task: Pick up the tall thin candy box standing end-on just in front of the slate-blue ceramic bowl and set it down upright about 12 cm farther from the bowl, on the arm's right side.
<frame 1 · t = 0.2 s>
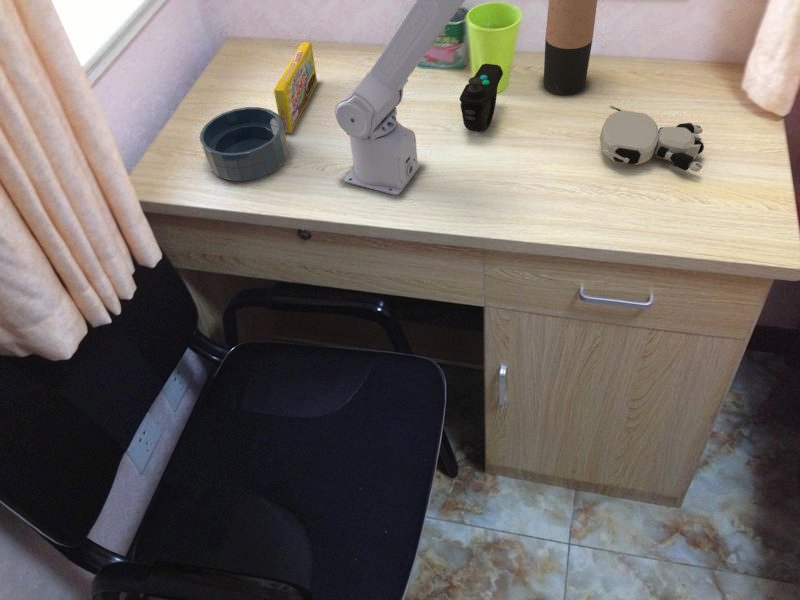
travel mug: (563, 85, 120), on the table
robot toy: (648, 155, 105), on the table
candy box: (301, 108, 122), on the table
bowl: (249, 158, 113), on the table
controller: (481, 124, 114), on the table
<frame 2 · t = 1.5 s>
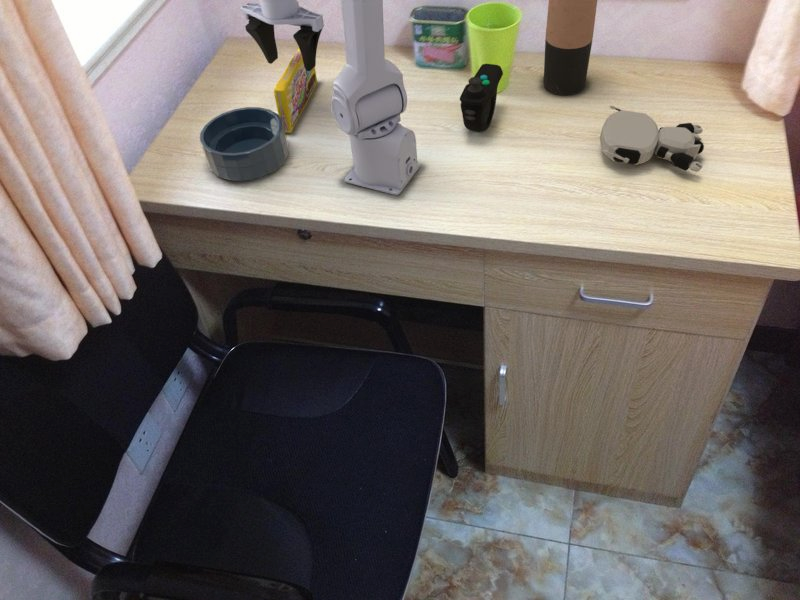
hand: (291, 64, 116), 8 cm above the table, tool pointing down, fingers open, 7 cm apart
nothing on the table moved.
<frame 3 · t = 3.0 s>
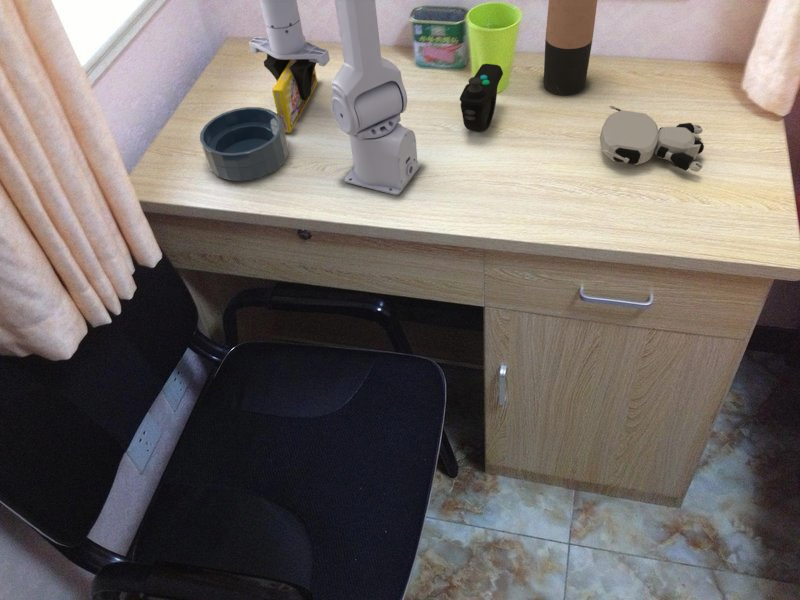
hand: (298, 95, 120), 2 cm above the table, tool pointing down, fingers closed on candy box, 3 cm apart
candy box: (301, 108, 122), on the table, touching gripper
everything else where it was.
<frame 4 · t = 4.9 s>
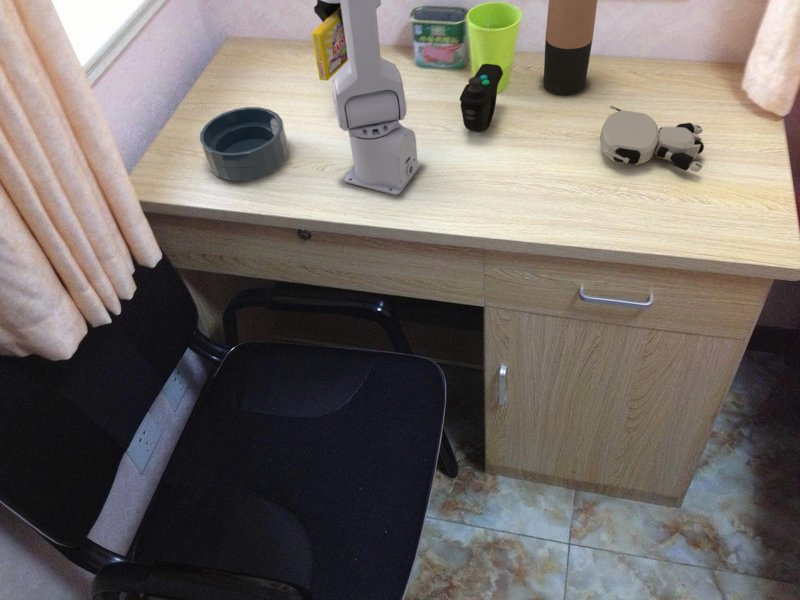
hand: (345, 44, 117), 9 cm above the table, tool pointing down, fingers closed on candy box
candy box: (348, 58, 119), point 7 cm above the table, touching gripper
everything else where it was.
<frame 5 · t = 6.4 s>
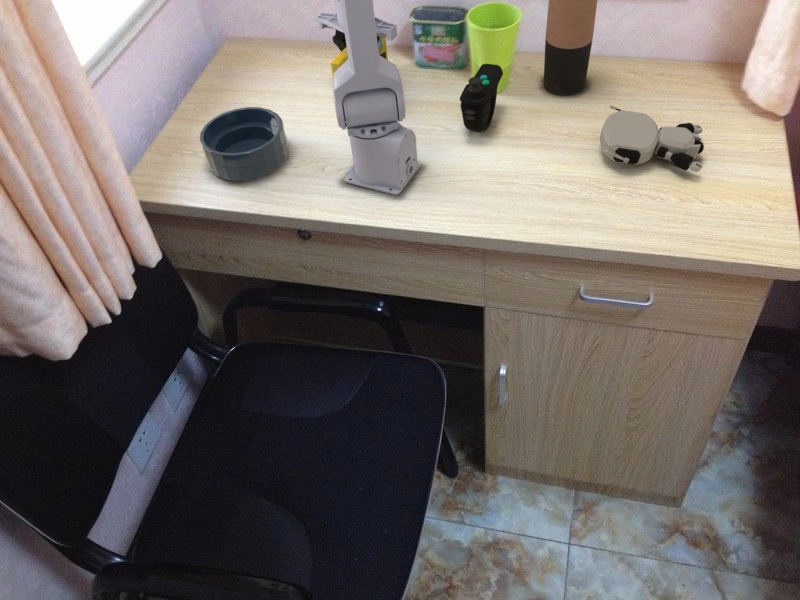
hand: (362, 71, 122), 4 cm above the table, tool pointing down, fingers closed on candy box, 2 cm apart
candy box: (364, 85, 124), point 1 cm above the table, touching gripper
everything else where it was.
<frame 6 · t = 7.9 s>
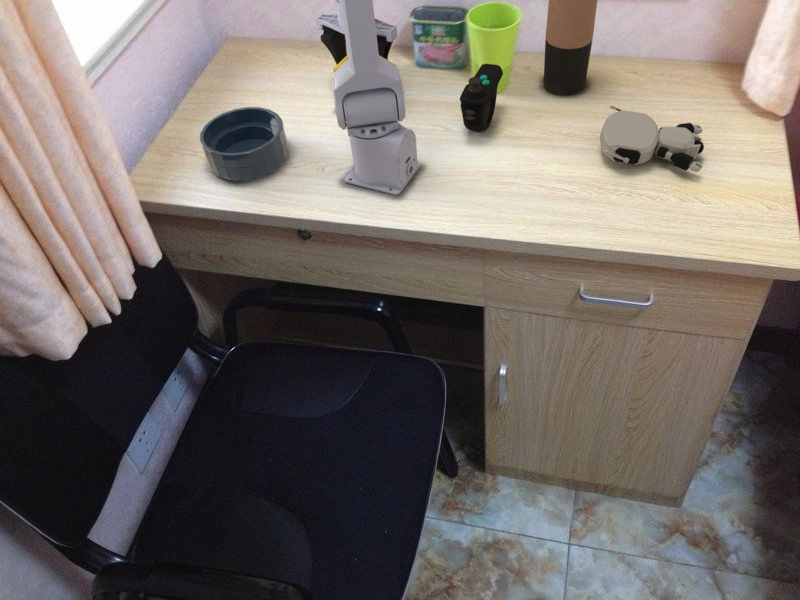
hand: (362, 72, 122), 3 cm above the table, tool pointing down, fingers open, 7 cm apart
candy box: (365, 90, 125), on the table
everything else where it was.
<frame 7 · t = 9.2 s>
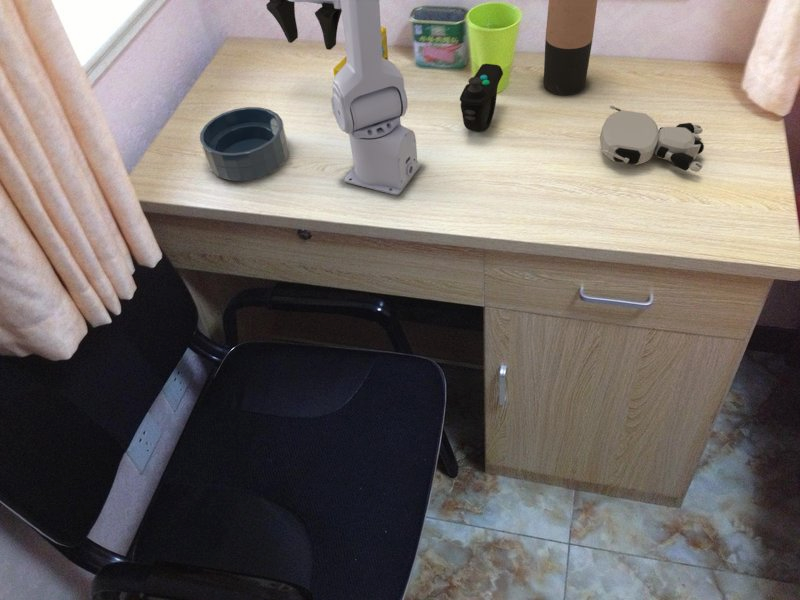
hand: (312, 43, 116), 10 cm above the table, tool pointing down, fingers open, 7 cm apart
nothing on the table moved.
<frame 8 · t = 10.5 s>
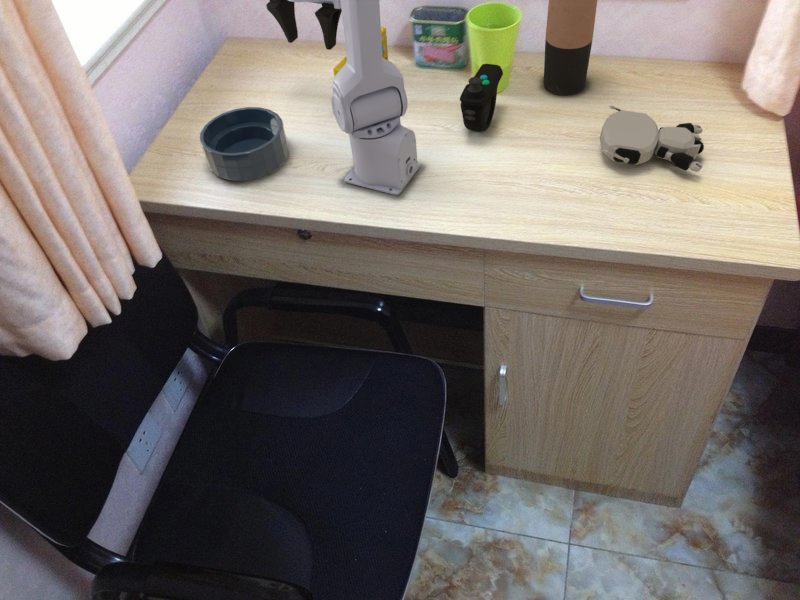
hand: (312, 43, 116), 10 cm above the table, tool pointing down, fingers open, 7 cm apart
nothing on the table moved.
at the end: candy box inside the target area on the table beside the bowl (0.1 cm from its centre), on the table; candy box tilted 0°; the gripper is holding nothing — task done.
